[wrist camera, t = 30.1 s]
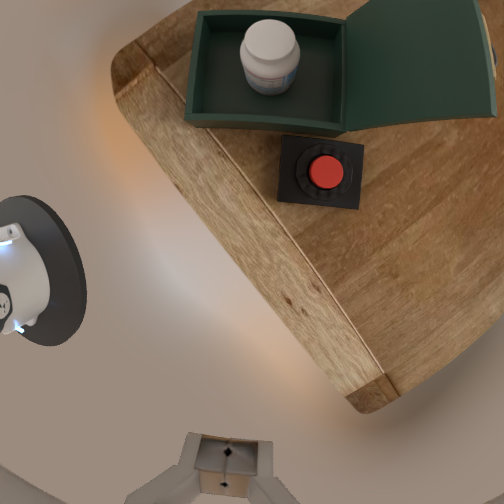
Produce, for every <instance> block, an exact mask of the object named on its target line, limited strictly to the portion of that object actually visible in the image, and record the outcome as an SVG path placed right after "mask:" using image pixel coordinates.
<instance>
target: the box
mask: <svg viewBox="0 0 504 504" xmlns="http://www.w3.org/2000/svg"><path fill="white" fill-rule="evenodd" d="M267 19H272V20H278V21H281V22H283V23H285V24H286V25H288V26H289V27H290V28H291V29H292V31H293V32H294V35H295V39H296V41H297V43H298V45H299V48H300V59H299V63H298V67H297V71H296V76H295V79H294V82H293V84H292V86H291V87H290V88H289V89H288V90H287V91H285V92H284V93H282V94H279V95H273V96H269V95H263V94H261V93H259V92H257V91H255V90H254V89H253V88H252V87H251V86H250V85H249V83H248V81H247V79H246V76H245V72H244V68H243V65H242V61H241V57H240V47H241V44H242V42H243V40H244V38H245V34H246V32H247V30H248V29H249V27H251V26H252V25H253V24H254V23H256V22H258V21H262V20H267ZM346 103H347V27H346V20H342V19H337V18H331V17H325V16H318V15H311V14H302V13H293V12H281V11H265V10H211V11H198V14H197V20H196V27H195V33H194V40H193V47H192V54H191V62H190V70H189V78H188V87H187V96H186V106H185V116H184V120H185V121H186V122H188V123H190V124H191V125H193V126H194V127H196V128H232V129H253V130H268V131H281V132H292V133H302V134H311V135H319V136H327V137H334V138H336V137H338V136H339V135H341V134H343V133H345V132H347V131H346V130H345V128H346Z"/></svg>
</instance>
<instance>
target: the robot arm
mask: <svg viewBox="0 0 504 504" xmlns="http://www.w3.org/2000/svg"><path fill="white" fill-rule="evenodd" d="M49 297H50V284H49V278H48V274H47V270H46V267H45V265H44V262H43V260H42V258H41V256H40V254H39V253H38V251H37V250H36V248H35V247H34V246H33V245H32V244H31V242H30V241H29V240H28V239H27V238H26V236H25V234H24V232H23V230H22V228H21V226H20V224H19V223H17V222H15V223H12V224H9V225H6V226H3V227H0V333H3V334H9V333H10V332H12V331H13V330H17V331H19V332H21V333H22V332H24V330H23V329H21V328H20V327H21V326H22V325H24V324H27V325H29V326H32V325H34V324H35V323H36V321H37V317H38V315H39V314H40V313H41V312H43V311H44V310H45V308H46V307H47V305H48V302H49ZM201 493H206V494H214V495H225V496H232V497H240V498H248V500H249V502H250V503H251V504H300V503H299V502H298V501H297V500H296V499H295V498H294V496H293V495H292V494H291V493H290V492H289V491H288V489H287V488H286V487H285V486H284V484H283V483H282V482H281V481H280V480H279V478H278V477H273V442H272V441H258V440H247V439H236V438H223V437H215V436H209V435H203V434H197V433H192V432H189V433H188V434H187V436H186V439H185V443H184V446H183V450H182V453H181V456H180V459H179V463H178V466H177V465H173V466H172V467H170V468H169V469H167V470H166V471H164V472H163V473H161V474H160V475H159V476H157V477H156V478H154V479H153V480H151V481H150V482H148V483H147V484H145V485H144V486H142V487H140V488H139V489H137V490H136V491H134V492H132V493H131V494H129V495H128V496H127V498H126V500H125V503H124V504H191V503H192V502H193V501H194V500H195V499H196V498H197V497H198V496H199V495H200V494H201ZM0 504H68V503H66V502H64V501H62V500H60V499H58V498H55V497H54V496H52V495H50V494H48V493H46V492H44V491H43V490H41V489H39V488H37V487H36V486H34V485H32V484H30V483H29V482H27V481H25V480H24V479H22V478H21V477H19V476H18V475H16V474H14V473H13V472H11V471H10V470H8V469H7V468H5V467H4V466H3V465H1V464H0ZM484 504H504V493H503V494H501V495H499V496H498V497H496V498H494V499H492V500H490V501H488V502H486V503H484Z"/></svg>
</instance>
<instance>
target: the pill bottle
mask: <svg viewBox="0 0 504 504" xmlns="http://www.w3.org/2000/svg"><path fill="white" fill-rule="evenodd" d="M240 57H241V61H242V65H243V68H244V72H245V76H246V79H247V81H248V83H249V85H250V86H251V87H252V88H253V89H254V90H255V91H257V92H259V93H261V94H263V95H269V96H273V95H279V94H282V93H284V92H285V91H287V90H288V89H289V88H290V87H291V86H292V84H293V82H294V79H295V76H296V71H297V67H298V63H299V59H300V48H299V45H298V43H297V41H296V39H295V35H294V32H293V31H292V29H291V28H290V27H289V26H288V25H286V24H285V23H283V22H281V21H278V20H272V19H267V20H262V21H258V22H256V23H254V24H253V25H252V26H251V27H249V29H248V30H247V32H246V34H245V38H244V40H243V42H242V44H241V47H240Z"/></svg>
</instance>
